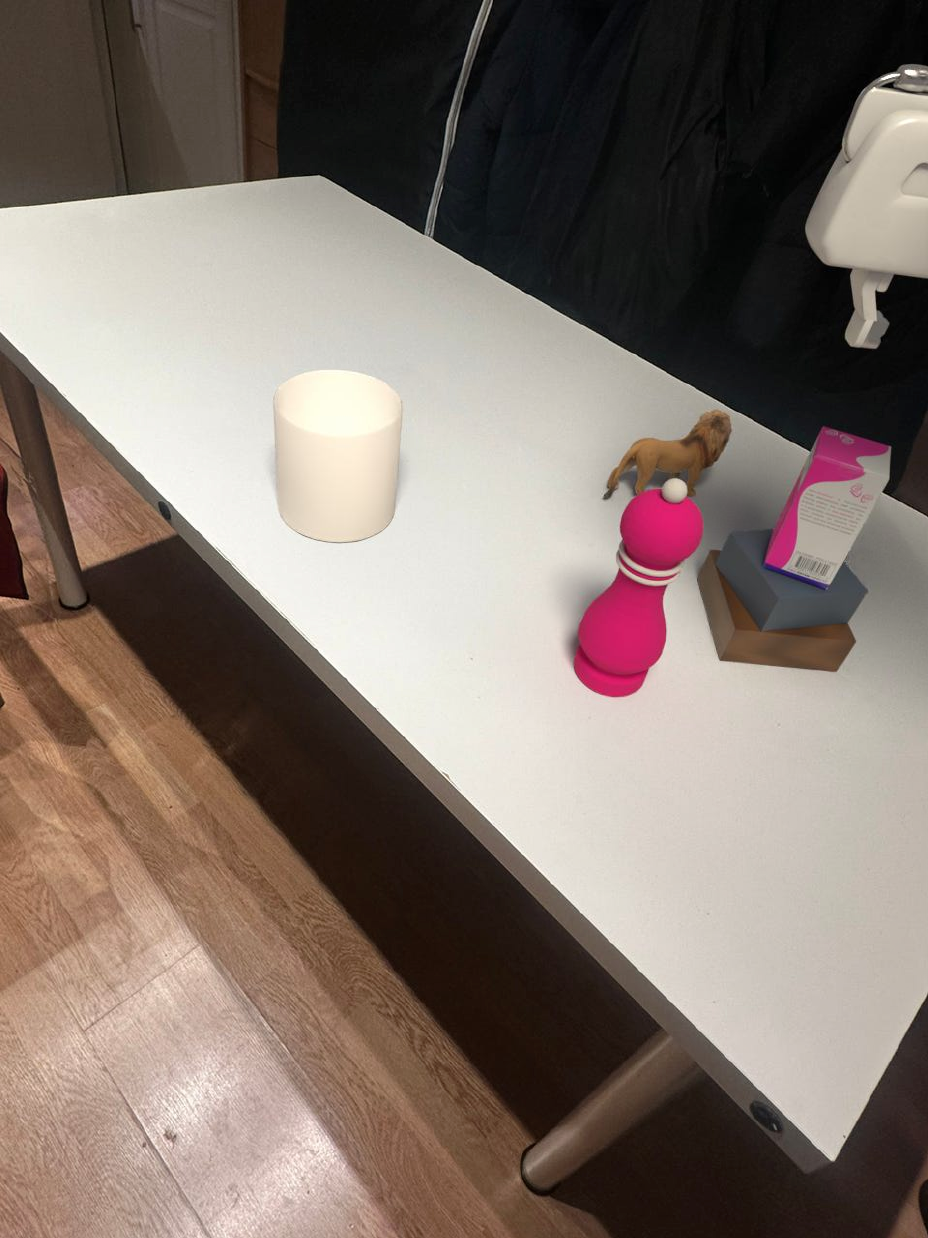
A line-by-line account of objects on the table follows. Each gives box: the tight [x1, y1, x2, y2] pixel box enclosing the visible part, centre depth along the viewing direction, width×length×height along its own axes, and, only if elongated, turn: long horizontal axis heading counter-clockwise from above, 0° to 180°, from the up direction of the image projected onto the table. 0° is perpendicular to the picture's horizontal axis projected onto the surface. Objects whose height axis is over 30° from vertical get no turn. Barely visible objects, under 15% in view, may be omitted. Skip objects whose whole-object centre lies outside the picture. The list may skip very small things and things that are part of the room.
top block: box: [716, 528, 869, 632], centre depth 74 cm, size 9×9×4 cm
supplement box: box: [763, 426, 892, 590], centre depth 69 cm, size 6×6×12 cm
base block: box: [696, 549, 857, 673], centre depth 77 cm, size 11×11×4 cm
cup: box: [272, 369, 404, 543], centre depth 79 cm, size 12×12×12 cm
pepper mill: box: [573, 478, 704, 698], centre depth 65 cm, size 7×7×20 cm
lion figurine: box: [603, 408, 733, 499], centre depth 89 cm, size 15×5×9 cm, turn 117°
